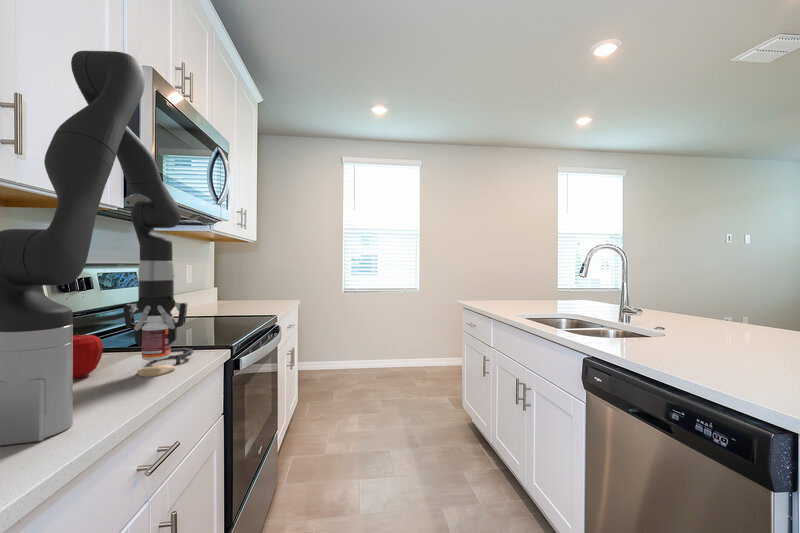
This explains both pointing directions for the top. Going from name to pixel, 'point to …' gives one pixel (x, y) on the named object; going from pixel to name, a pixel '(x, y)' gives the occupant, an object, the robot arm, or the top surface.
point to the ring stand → (185, 353)
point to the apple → (86, 354)
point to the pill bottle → (155, 339)
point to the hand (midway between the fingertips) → (156, 343)
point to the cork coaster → (156, 370)
